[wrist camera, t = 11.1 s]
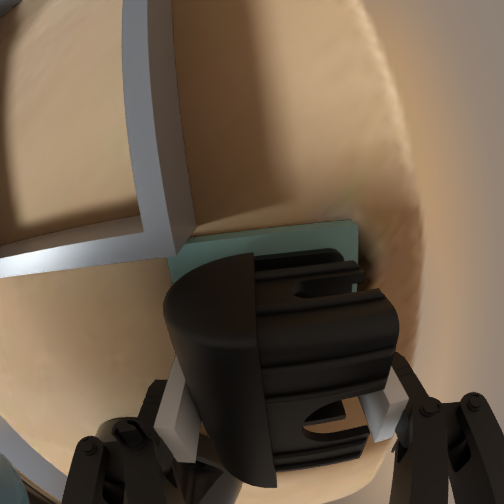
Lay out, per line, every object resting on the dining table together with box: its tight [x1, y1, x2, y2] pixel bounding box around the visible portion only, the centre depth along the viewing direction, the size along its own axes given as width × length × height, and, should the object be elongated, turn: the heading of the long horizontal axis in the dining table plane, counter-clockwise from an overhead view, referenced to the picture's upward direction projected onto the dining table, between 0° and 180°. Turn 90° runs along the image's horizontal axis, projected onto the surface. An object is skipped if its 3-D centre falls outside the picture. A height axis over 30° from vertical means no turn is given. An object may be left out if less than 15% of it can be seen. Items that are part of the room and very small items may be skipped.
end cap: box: [163, 248, 399, 488], centre depth 11 cm, size 10×7×7 cm
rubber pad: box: [166, 220, 358, 292], centre depth 15 cm, size 11×9×1 cm
